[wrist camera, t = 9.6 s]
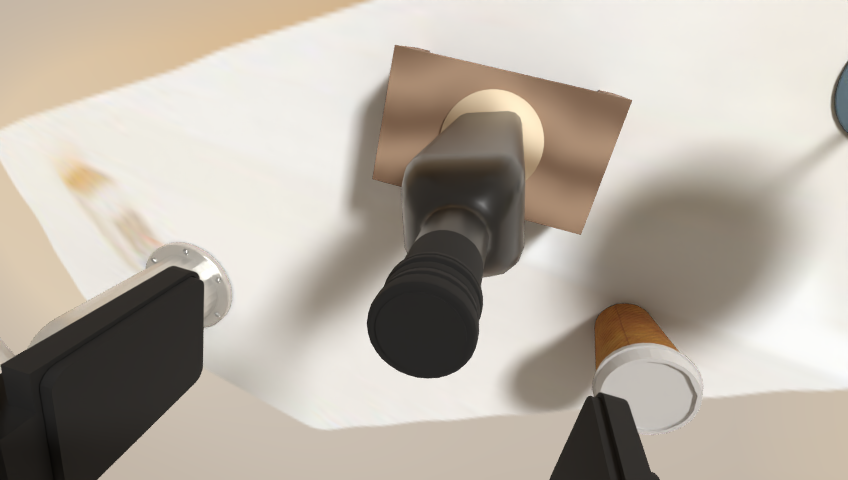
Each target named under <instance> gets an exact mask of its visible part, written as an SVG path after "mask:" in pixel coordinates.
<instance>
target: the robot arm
mask: <svg viewBox="0 0 848 480" xmlns="http://www.w3.org/2000/svg"><path fill="white" fill-rule="evenodd" d="M231 302H232V290H231V285H230V282H229V279H228V277H227V275H226V273H225V271H224V270H223V268H222V267H221V266H220V264H219V263H218V262H217V261H216V260H215V259H214V258H213V257H212V256H211V255H210V254H208V253H207V252H206V251H204V250H202V249H201V248H199V247H197V246H194V245H191V244H188V243H182V242H176V243H170V244H166V245H164V246H162V247H160V248H158V249H157V250H155V251H154V252H153V253H152V254H151V255H150V257H149V259H148V261H147V264H146V269H145V270H143V271H141V272H139V273H137V274H136V275H134V276H132V277H130V278H128V279H126V280H125V281H123V282H121V283H119V284H117V285H116V286H114V287H112V288H110V289H108V290H106V291H105V292H103V293H101V294H99V295H97V296H96V297H94V298H92V299H90V300H88V301H86V302H85V303H83V304H81V305H79V306H77V307H75V308H74V309H72V310H70V311H68V312H66V313H65V314H63V315H61V316H59V317H57V318H56V319H54V320H52V321H51V322H49V323H48V324H47V325H46V326H44V327H43V328H42V329H41V330H40V331H39V332H38V334H37V335H36V336H35V337H34V338H33V340H32V341H31V343H30V345H29V346H28V348H27V350H25V351H23V352H21V353H20V354H18V355H16V356H15V355H14V354H13V353H12V351H11V350H10V349H9V348H8V347H7V345H6V344H5V343H4V342H3V341H2V340H1V338H0V480H97V479H98V478H99V477H100V476H101V475H102V474H103V473H104V472H105V471H106V470H107V469H108V468H109V467H110V466H111V465H112V464H113V463H114V462H115V461H116V460H117V459H118V458H119V457H121V456H122V455H123V454H124V452H126V451H127V450H128V449H129V448H130V446H132V444H134V443H135V442H136V441H137V440H138V439H139V438H140V437H141V436H142V435H143V434H144V433H145V432H146V431H147V430H148V429H149V428H150V427H151V426H152V425H153V424H154V423H155V422H156V421H157V420H158V419H159V418H160V417H161V416H162V415H163V414H164V413H165V412H166V411H167V410H168V409H169V408H170V407H171V406H172V405H173V404H174V403H175V402H176V401H177V400H178V399H179V398H180V397H181V396H182V395H183V394H184V393H185V392H186V391H187V390H188V389H189V388H190V387H191V386H192V385H193V384H194V383H195V382H196V381H197V380H198V378H199V377H200V375H201V372H202V368H203V328H204V327H207V326H211V325H213V324H215V323H217V322H218V321H219V320H221V319H222V318H223V317H224V316H225V315H226V314H227V312H228V310H229V309H230V306H231ZM550 480H660V479H659V477H658V476H657V475H656V474H655V473H653V472H651V471H650V468H649V465H648V461H647V458H646V455H645V452H644V449H643V446H642V443H641V440H640V437H639V434H638V431H637V428H636V425H635V422H634V418H633V415H632V412H631V409H630V406H629V404H628V402H627V400H625V399H622V398H619V397H616V396H612V395H609V394H605V393H602V392H599V393H598V394H597V395H596V396H595V397H592V396H588V397H587V399H586V400H585V402H584V405H583V407H582V409H581V411H580V413H579V416H578V418H577V420H576V422H575V424H574V427H573V429H572V431H571V433H570V436H569V438H568V440H567V442H566V444H565V446H564V449H563V451H562V453H561V455H560V457H559V460H558V462H557V464H556V466H555V468H554V470H553V473H552V475H551V477H550Z"/></svg>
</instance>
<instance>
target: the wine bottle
mask: <svg viewBox="0 0 848 480" xmlns="http://www.w3.org/2000/svg"><path fill="white" fill-rule="evenodd" d="M401 200H402V214H403V228H404V242H405V249H406V252H407V255H406V257H405V259H404V260H402V261H401V262H400V263H399V264H398V265H396V266H395V267H394V269H393V270H392V272H391V273H390V274H389V276H388V278H387V280H386V282H385V285H384V287H383V288H382V289H381V290H380V292H379V293H378V295H377V296H376V298H375V299H374V301H373V302H372V304H371V307H370V310H369V313H368V319H367V328H368V334H369V338H370V341H371V343H372V345H373V347H374V349H375V350H376V352H377V353H378V354H379V356H380V357H381V358H382V359H383V360H384V361H385V362H386V363H388V364H389V365H390V366H392V367H393V368H395V369H396V370H398V371H400V372H402V373H405V374H407V375H410V376H414V377H418V378H440V377H443V376H447V375H449V374H452V373H454V372H456V371H458V370H459V369H460V368H461V367H463V366H464V365H465V364H466V363H467V362H468V361H469V359H470V358H471V357H472V355H473V353H474V351H475V348H476V345H477V341H478V335H479V319H480V316H481V312H482V307H483V295H482V290H481V282H482V278H483V277H490V276H495V275H500V274H504V273H505V272H506V271H508V270H509V269H510V268H512V267H513V266H514V265H515V264H516V263H517V262H518V261H519V259H520V257H521V254H522V251H523V248H524V225H525V161H524V145H523V130H522V122H521V118H520V117H519V116H518V115H517V114H516V113H515V112H510V111H498V112H475V113H465V114H462V115H460V116H459V117H458V118H457V119H456V120H455V121H454V122H452V123H451V124H450V125H449V126H448V127H447V128H446V129H445V130H444V131H443V132H442V133H440V134H439V135H438V136H437V137H436V138H435V139H434V140H433V141H432V142H431V143H429V144H428V145H427V146H426V147H425V148H424V149H423V150H422V151H421V152H420V153H418V154H417V155H416V156H415V157H414V158H413V159H412V161H411V162H410V163H409V164H408V165H407V167H406V169H405V173H404V177H403V182H402V188H401Z"/></svg>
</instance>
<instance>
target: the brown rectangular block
mask: <svg viewBox="0 0 848 480" xmlns="http://www.w3.org/2000/svg"><path fill="white" fill-rule="evenodd" d="M429 52H430V51H428V50H424V49H420V48H415V47H407V46H399V45H395V47H394V53H393V59H392V65H391V71H390V77H389V83H388V89H387V95H386V101H385V107H384V113H383V119H382V125H381V131H380V137H379V143H378V148H377V154H376V160H375V166H374V172H373V178H372V179H374V180H378V181H382V182H385V183H389V184H393V185H397V186H400V187H402V182H403V177H404V173H405V169H406V167H407V165H408V164H409V163H410V162H411V161H412V159H413V158H414V157H415V156H416V155H417V154H418V153H420V152H421V151H422V150H423V149H424V148H425V147H426V146H427V145H428V144H429V143H431V142H432V141H433V140H434V139H435V138H436V137H437V136H438V135H439V134H440V133H442V132H443V131H444V130H445V129H446V128H447V127H448V126H449V125H450V124H451V123H452V122H454V121H455V120H456V119H457V118H458V117H459V116H460V115H462V114H465V113H475V112H498V111H510V112H515V113H516V114H517V115H518V116H519V117H520V118H521V122H522V130H523V145H524V161H525V220H527V221H531V222H535V223H539V224H542V225H546V226H550V227H554V228H557V229H561V230H565V231H569V232H572V233H576V234H580V235H581V233H582V230H583V228H584V225H585V223H586V220H587V217H588V215H589V212H590V209H591V207H592V204H593V202H594V199H595V196H596V194H597V191H598V188H599V186H600V183H601V181H602V178H603V175H604V173H605V170H606V168H607V165H608V162H609V160H610V157H611V154H612V152H613V149H614V147H615V144H616V141H617V139H618V136H619V134H620V131H621V128H622V126H623V123H624V120H625V118H626V115H627V113H628V110H629V107H630V105H631V102H632V100H630V99H627V98H625V97H622V96H619V95H616V94H613V93H609V92H605V91H600V90H598V92H597V91H592V90H588V89H584V88H580V87H575V86H571V85H567V84H562V83H558V82H554V81H549V80H545V79H541V78H537V77H532V76H528V75H524V74H519V73H515V72H511V71H506V70H502V69H498V68H494V67H489V66H485V65H481V64H476V63H472V62H468V61H464V60H459V59H455V58H451V57H446V56H442V55H438V54H433V53H429Z"/></svg>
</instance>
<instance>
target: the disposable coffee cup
mask: <svg viewBox="0 0 848 480" xmlns="http://www.w3.org/2000/svg"><path fill="white" fill-rule="evenodd" d="M595 356H596V373H595V375H594V378H593V386H592V388H593V395H594V397H595V396H596V395H597V394H598V393H599V392H602V393H605V394H609V395H612V396H616V397H619V398H622V399H625V400H627V402H628V404H629V406H630V409H631V412H632V415H633V418H634V422H635V425H636V428H637V431H638V433H639V434H648V435H656V434H663V433H668V432H671V431H674V430H676V429H679V428H681V427H682V426H684V425H685V424H687V423H688V422H690V421H691V420H692V419H693V418H694V416H695V415H696V414H697V413H698V411H699V409H700V406H701V402H702V395H703V380H702V377H701V374H700V372H699V370H698V369H697V367H696V366H695V364H694V363H693V362H692V361H691V360H690V359H689V358H687V357H686V356H685V355H683V354H681V353H680V352H679V351H678V350H677V349H676V347H675V346H674V345H673V344H672V342H671V341H670V340H669V339H668V337H667V336H666V335H665V334H664V332H663V331H662V330H661V329H660V328H659V326H658V325H657V324H656V323H655V321H654V320H653V319H652V317H651V316H650V315H649V313H648V312H646V311H645V310H644V309H643V308H641V307H639V306H636V305H633V304H624V303H623V304H616V305H613V306H610V307H608V308H606V309H605V310H604V311H602V312H601V314H600V315H599V316H598V318H597V319H596V323H595Z"/></svg>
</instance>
